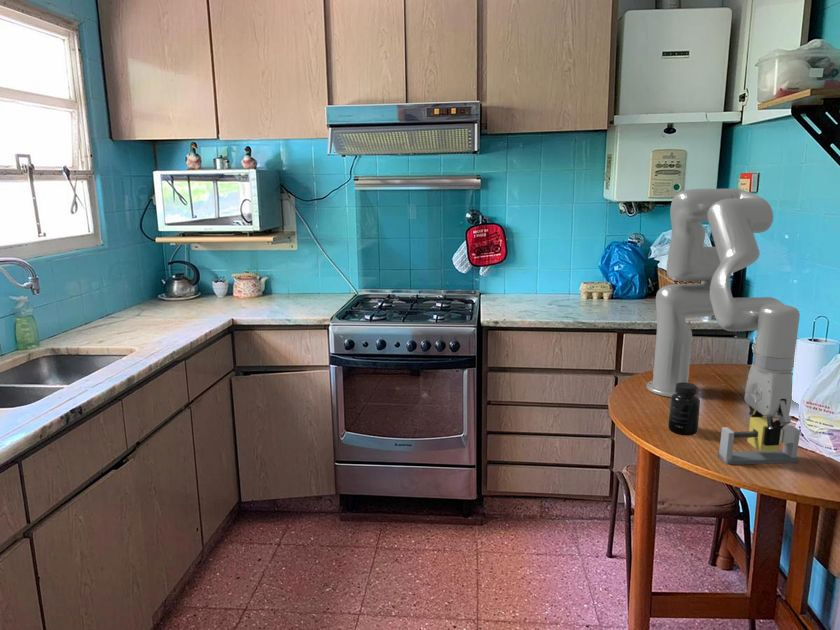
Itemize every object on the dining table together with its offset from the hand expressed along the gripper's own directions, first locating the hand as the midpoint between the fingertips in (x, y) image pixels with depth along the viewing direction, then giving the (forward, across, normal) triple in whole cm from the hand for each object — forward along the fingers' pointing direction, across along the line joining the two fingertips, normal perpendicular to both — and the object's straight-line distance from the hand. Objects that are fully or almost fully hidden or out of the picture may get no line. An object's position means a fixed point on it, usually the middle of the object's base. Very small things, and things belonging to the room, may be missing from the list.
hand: (763, 438), depth 137 cm
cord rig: (+5, 0, -1) cm, 5 cm away
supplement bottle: (+5, -16, -11) cm, 20 cm away
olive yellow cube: (+2, 0, 0) cm, 2 cm away
